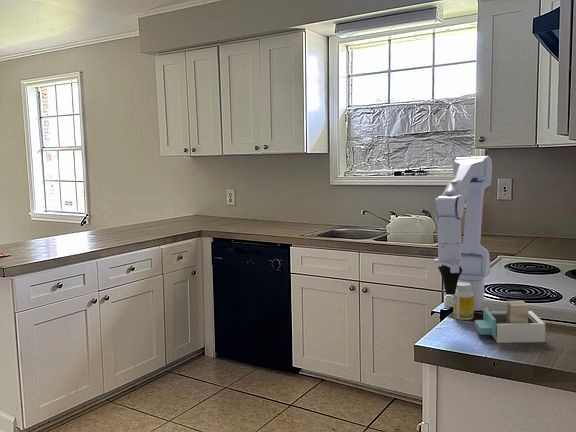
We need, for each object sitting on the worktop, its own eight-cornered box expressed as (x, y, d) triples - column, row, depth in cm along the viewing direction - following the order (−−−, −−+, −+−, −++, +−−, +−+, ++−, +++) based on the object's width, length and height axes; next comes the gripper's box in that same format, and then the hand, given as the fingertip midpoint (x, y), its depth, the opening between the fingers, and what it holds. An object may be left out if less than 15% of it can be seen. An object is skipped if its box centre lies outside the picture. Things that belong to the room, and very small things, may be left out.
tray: (473, 324, 140) (473, 308, 139) (525, 323, 138) (525, 307, 138) (481, 336, 131) (481, 319, 130) (538, 335, 129) (538, 319, 129)
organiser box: (487, 328, 140) (486, 311, 140) (531, 327, 139) (531, 311, 138) (497, 342, 130) (497, 324, 130) (545, 342, 129) (545, 323, 128)
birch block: (506, 324, 136) (506, 300, 136) (523, 323, 136) (523, 300, 135) (510, 329, 132) (510, 305, 132) (528, 329, 132) (528, 305, 131)
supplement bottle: (449, 317, 150) (448, 284, 149) (460, 313, 154) (460, 280, 152) (466, 321, 146) (466, 287, 145) (477, 317, 150) (477, 283, 148)
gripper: (429, 238, 146) (430, 286, 148) (437, 248, 132) (439, 302, 134) (456, 237, 146) (457, 286, 147) (467, 247, 131) (468, 301, 133)
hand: (450, 293), depth 140 cm, fingers closed
